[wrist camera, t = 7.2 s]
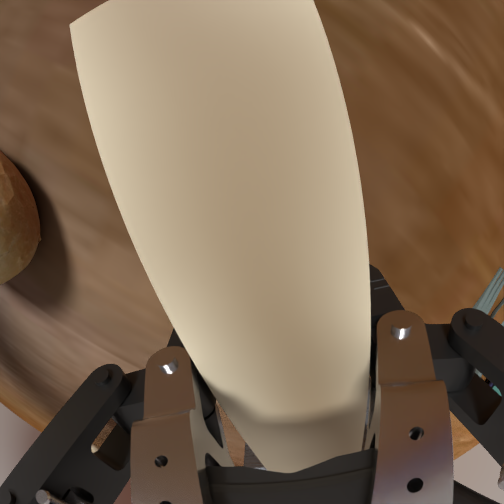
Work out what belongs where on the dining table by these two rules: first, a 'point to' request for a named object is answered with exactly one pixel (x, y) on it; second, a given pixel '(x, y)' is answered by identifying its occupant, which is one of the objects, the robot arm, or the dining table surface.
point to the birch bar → (242, 206)
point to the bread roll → (16, 221)
